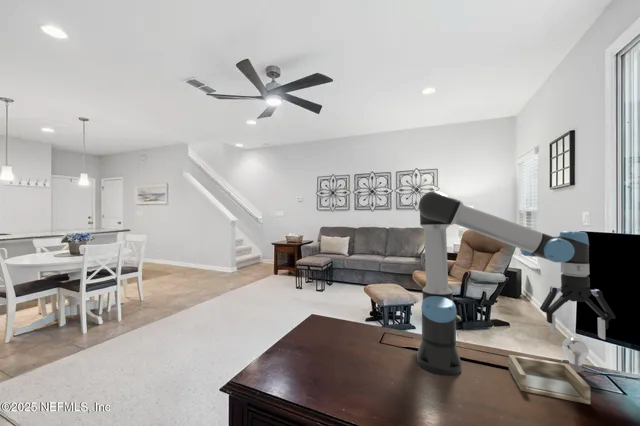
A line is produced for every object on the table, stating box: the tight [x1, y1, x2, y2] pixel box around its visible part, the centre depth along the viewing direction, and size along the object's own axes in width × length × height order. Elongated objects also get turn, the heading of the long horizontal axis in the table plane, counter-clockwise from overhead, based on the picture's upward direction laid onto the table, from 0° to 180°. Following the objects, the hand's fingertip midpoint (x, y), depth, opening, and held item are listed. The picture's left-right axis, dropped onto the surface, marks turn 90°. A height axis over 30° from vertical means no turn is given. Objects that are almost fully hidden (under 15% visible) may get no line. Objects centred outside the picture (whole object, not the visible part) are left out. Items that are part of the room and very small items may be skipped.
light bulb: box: [561, 336, 590, 374], centre depth 98 cm, size 7×7×12 cm
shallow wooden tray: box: [508, 354, 591, 405], centre depth 90 cm, size 17×14×5 cm
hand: (576, 335), depth 97 cm, fingers open, 13 cm apart
